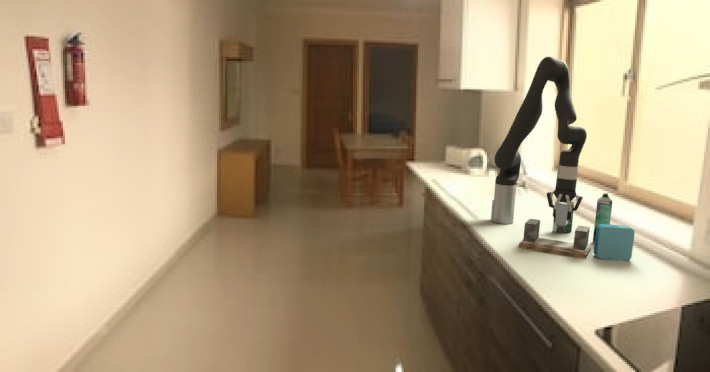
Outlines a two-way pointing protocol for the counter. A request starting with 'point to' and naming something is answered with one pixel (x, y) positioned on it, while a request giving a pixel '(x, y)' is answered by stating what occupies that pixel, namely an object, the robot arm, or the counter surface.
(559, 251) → the wooden block stand
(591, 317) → the counter surface
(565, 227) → the coffee box
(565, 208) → the block
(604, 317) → the counter surface
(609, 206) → the spray can
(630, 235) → the blue rounded block
